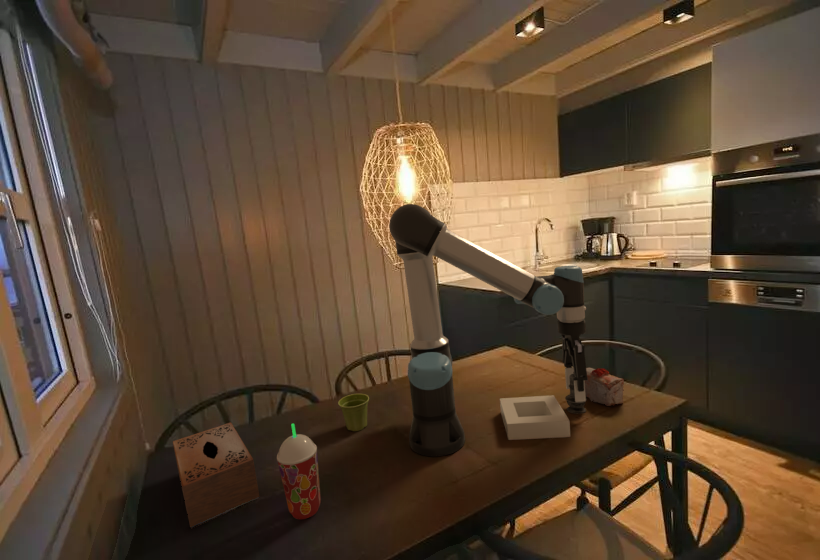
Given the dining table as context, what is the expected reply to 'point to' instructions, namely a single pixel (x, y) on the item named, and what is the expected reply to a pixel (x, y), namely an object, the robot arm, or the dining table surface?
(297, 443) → the smoothie
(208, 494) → the tissue box cover
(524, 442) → the dining table surface
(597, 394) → the food item
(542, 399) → the square frame
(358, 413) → the plant pot
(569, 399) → the dark chess piece
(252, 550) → the dining table surface
